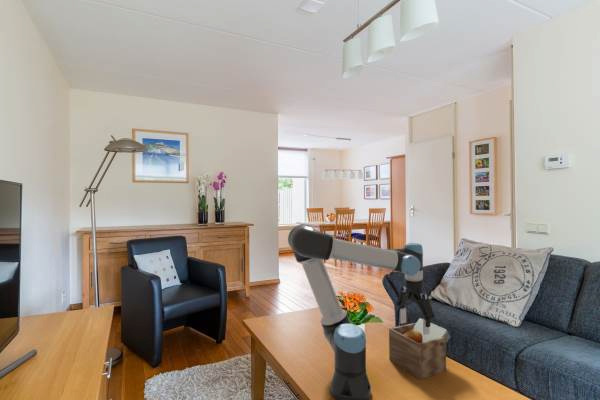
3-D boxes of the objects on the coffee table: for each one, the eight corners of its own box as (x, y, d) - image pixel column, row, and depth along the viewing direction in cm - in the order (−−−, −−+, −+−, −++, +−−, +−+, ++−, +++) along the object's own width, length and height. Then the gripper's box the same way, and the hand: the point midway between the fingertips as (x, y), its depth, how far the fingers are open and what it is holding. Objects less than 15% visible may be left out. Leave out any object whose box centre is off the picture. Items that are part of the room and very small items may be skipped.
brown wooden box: (420, 380, 128) (420, 345, 128) (388, 359, 146) (388, 328, 146) (447, 371, 134) (446, 338, 134) (413, 352, 152) (413, 322, 152)
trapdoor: (429, 370, 133) (423, 362, 132) (403, 354, 147) (397, 347, 146) (452, 337, 138) (446, 329, 137) (424, 324, 152) (419, 318, 151)
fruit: (404, 353, 137) (399, 333, 139) (408, 348, 143) (404, 329, 145) (423, 352, 133) (418, 332, 135) (427, 347, 139) (422, 328, 141)
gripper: (443, 284, 130) (444, 337, 130) (400, 272, 153) (401, 317, 153) (429, 287, 127) (430, 341, 127) (387, 274, 150) (388, 320, 150)
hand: (414, 328), depth 140 cm, fingers open, 13 cm apart
